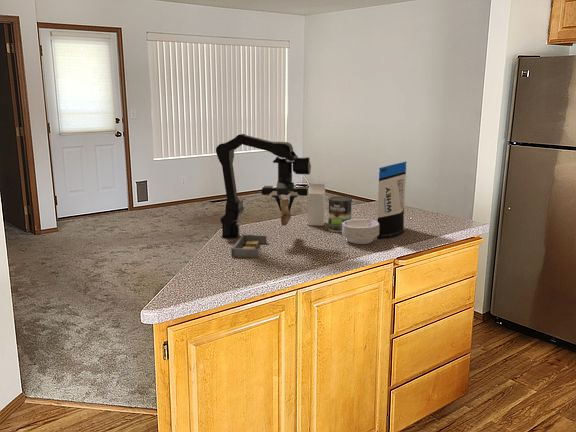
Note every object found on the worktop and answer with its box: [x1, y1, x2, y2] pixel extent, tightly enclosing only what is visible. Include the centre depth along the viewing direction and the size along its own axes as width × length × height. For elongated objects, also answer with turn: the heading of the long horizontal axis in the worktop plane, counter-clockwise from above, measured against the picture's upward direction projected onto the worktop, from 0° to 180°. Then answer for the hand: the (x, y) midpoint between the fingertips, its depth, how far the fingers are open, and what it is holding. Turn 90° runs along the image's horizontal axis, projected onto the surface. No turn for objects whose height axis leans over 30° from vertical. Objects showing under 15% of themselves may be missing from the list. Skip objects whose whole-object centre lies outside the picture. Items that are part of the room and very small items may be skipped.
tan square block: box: [245, 241, 260, 249], centre depth 212 cm, size 4×4×2 cm
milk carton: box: [307, 182, 326, 227], centre depth 244 cm, size 7×7×19 cm
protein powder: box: [376, 161, 407, 240], centre depth 226 cm, size 10×24×30 cm, turn 142°
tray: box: [230, 234, 268, 258], centre depth 208 cm, size 10×20×3 cm, turn 173°
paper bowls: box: [341, 218, 379, 245], centre depth 217 cm, size 15×15×8 cm
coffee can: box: [327, 195, 353, 233], centre depth 235 cm, size 10×10×14 cm
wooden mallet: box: [280, 197, 292, 226], centre depth 219 cm, size 3×14×10 cm, turn 172°
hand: (285, 211), depth 219 cm, fingers closed on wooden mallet, 3 cm apart
